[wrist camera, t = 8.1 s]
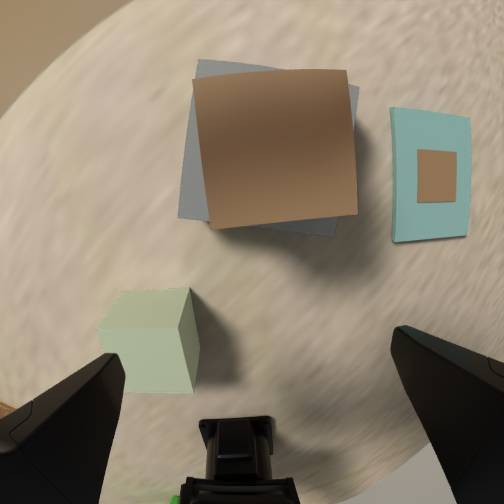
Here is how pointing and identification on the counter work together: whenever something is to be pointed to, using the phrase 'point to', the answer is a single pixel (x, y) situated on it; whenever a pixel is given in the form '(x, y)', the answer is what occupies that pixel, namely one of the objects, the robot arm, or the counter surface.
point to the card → (430, 174)
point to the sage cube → (153, 339)
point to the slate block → (192, 172)
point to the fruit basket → (175, 500)
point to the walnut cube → (276, 146)
